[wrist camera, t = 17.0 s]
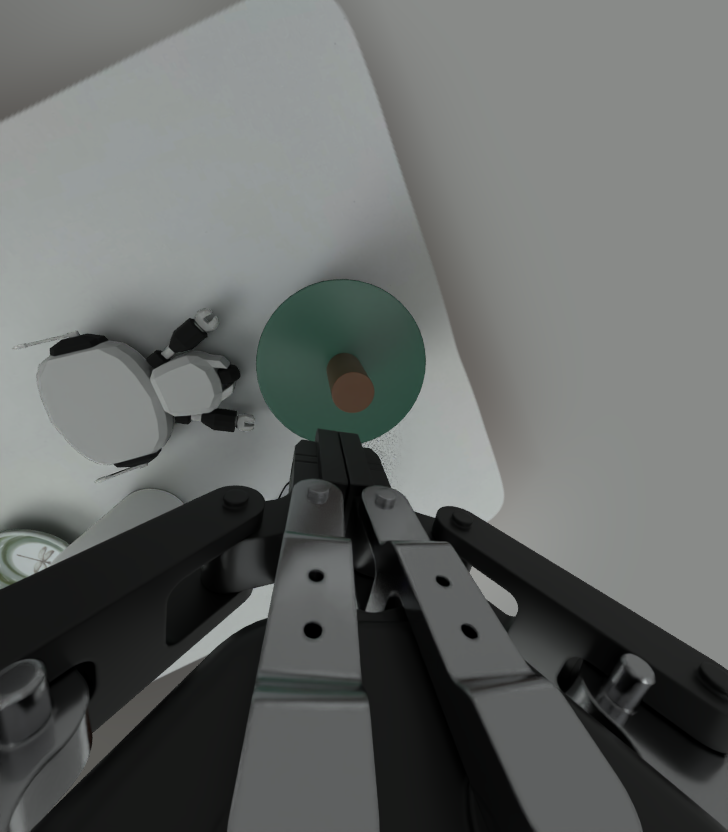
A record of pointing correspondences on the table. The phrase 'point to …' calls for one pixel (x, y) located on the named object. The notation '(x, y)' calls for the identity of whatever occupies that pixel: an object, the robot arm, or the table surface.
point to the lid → (341, 360)
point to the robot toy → (134, 393)
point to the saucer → (26, 553)
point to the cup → (123, 519)
